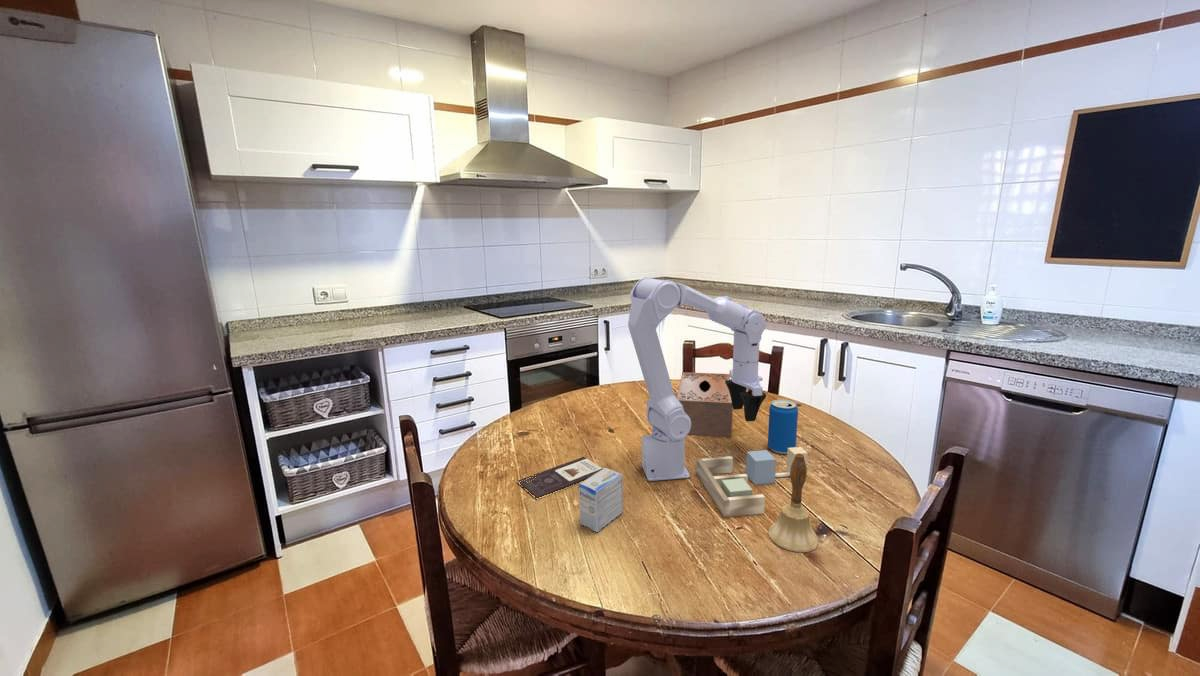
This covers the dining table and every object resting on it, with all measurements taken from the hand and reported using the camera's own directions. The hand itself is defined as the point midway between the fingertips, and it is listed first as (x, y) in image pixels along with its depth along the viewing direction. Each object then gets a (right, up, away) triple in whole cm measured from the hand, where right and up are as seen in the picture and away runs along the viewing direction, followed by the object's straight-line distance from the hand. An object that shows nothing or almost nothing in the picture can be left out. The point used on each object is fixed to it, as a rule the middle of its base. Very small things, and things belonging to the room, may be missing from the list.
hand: (743, 414), depth 113 cm
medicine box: (-34, -17, -23) cm, 44 cm away
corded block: (+4, -12, -10) cm, 16 cm away
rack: (-8, -14, -15) cm, 22 cm away
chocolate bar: (-43, -14, -7) cm, 46 cm away
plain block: (-7, -15, -19) cm, 25 cm away
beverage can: (+10, -9, +3) cm, 14 cm away
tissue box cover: (-4, -5, +24) cm, 25 cm away
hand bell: (0, -17, -30) cm, 34 cm away
